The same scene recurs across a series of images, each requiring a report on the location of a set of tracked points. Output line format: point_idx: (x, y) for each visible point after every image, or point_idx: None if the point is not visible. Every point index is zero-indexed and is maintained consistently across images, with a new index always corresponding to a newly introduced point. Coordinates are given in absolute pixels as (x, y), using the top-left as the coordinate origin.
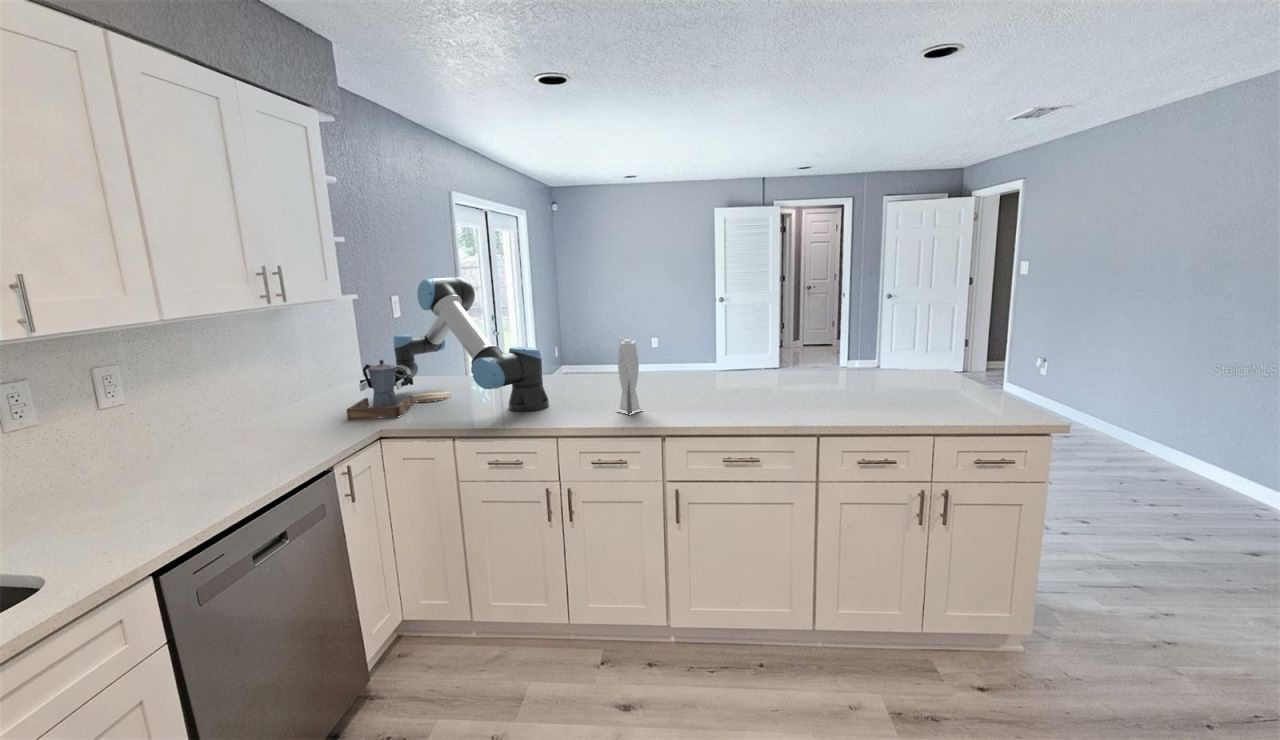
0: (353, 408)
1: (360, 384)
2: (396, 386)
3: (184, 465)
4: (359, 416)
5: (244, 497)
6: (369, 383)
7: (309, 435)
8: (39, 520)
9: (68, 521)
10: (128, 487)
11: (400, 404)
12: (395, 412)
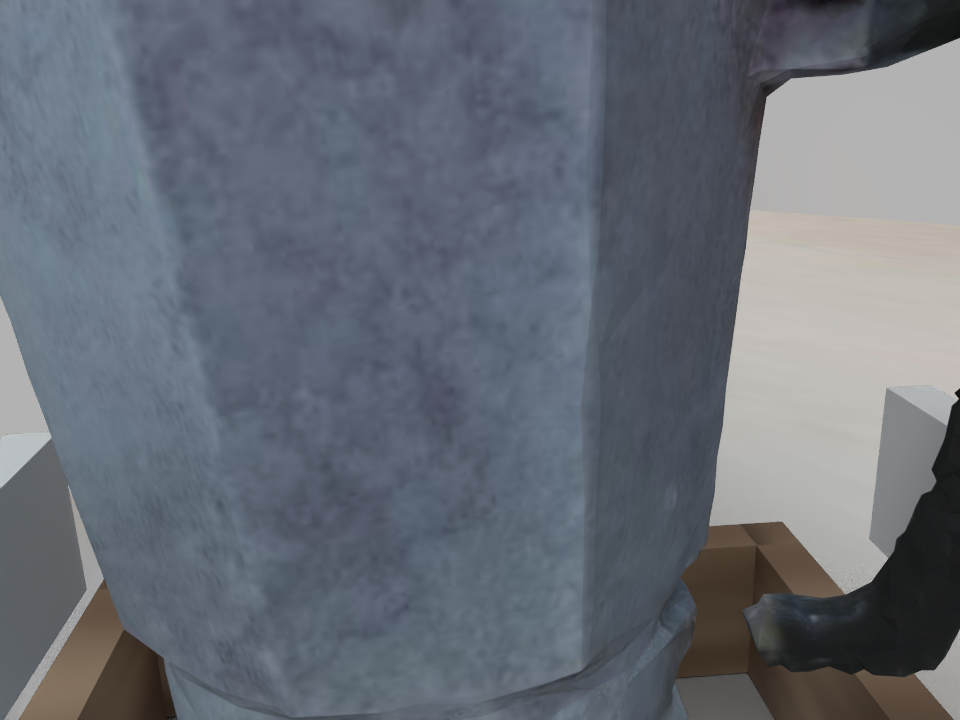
0: (719, 542)
1: (904, 389)
2: (71, 517)
3: (928, 292)
4: None
5: None
6: (906, 532)
7: (739, 424)
8: (839, 222)
9: (768, 223)
10: (873, 253)
11: (78, 644)
12: None
